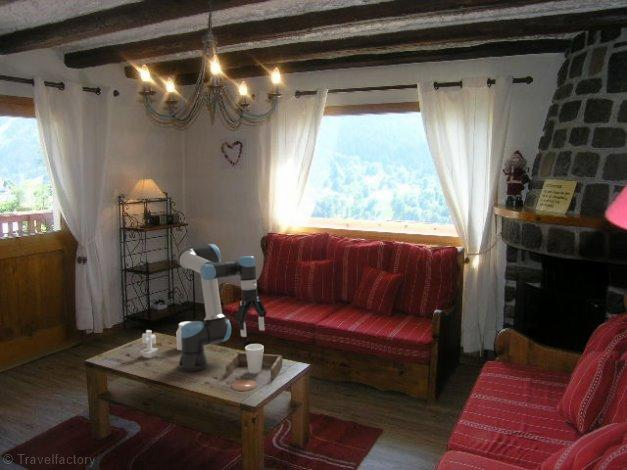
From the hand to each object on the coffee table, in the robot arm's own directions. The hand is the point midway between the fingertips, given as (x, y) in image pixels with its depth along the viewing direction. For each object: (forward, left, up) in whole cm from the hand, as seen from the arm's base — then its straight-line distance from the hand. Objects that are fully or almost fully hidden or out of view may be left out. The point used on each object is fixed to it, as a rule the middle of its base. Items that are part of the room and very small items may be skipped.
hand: (253, 333), depth 240 cm
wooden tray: (-20, -5, -27) cm, 34 cm away
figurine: (-29, -69, -27) cm, 80 cm away
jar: (-45, -54, -27) cm, 75 cm away
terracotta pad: (-2, -5, -27) cm, 28 cm away
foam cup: (-20, -5, -27) cm, 34 cm away
